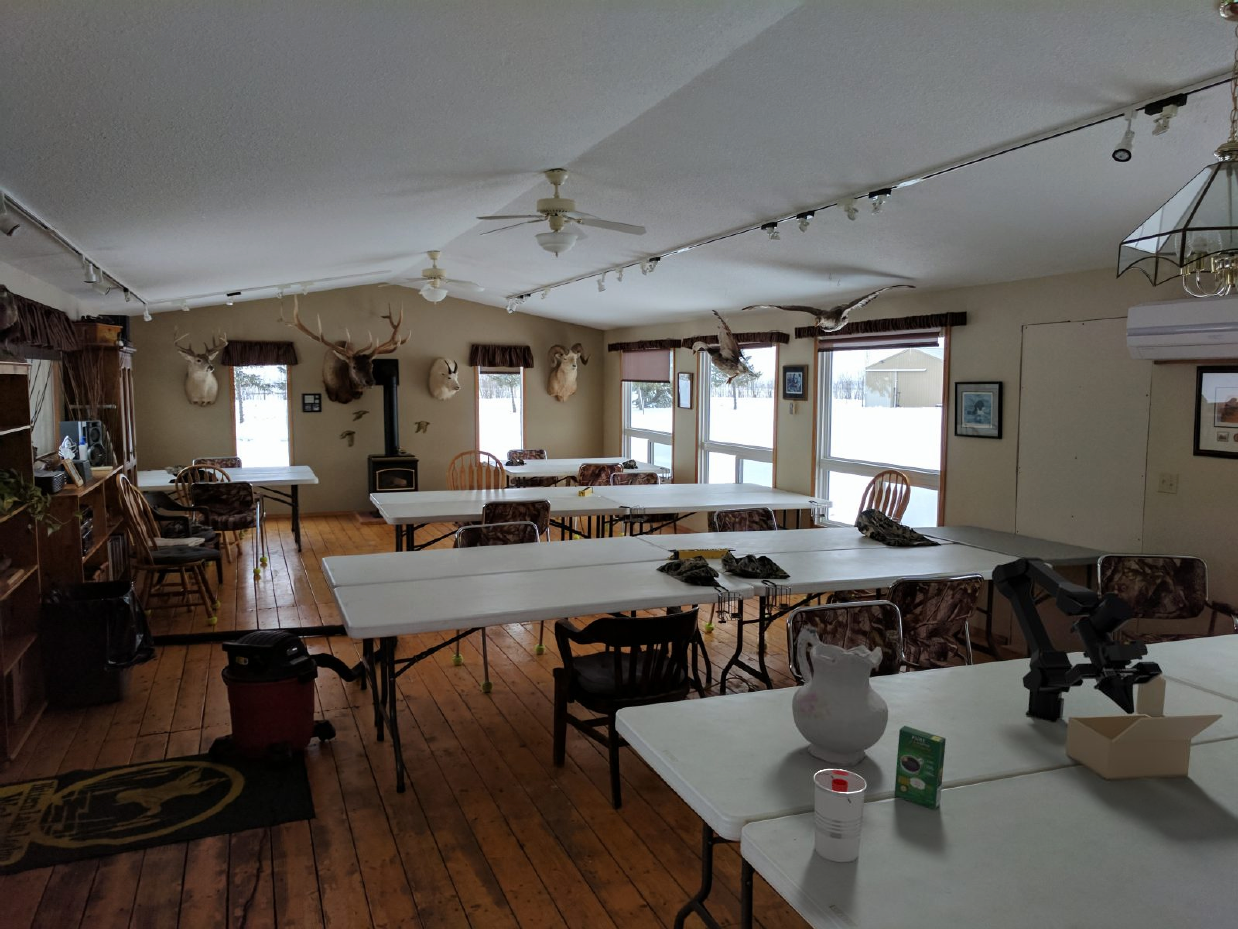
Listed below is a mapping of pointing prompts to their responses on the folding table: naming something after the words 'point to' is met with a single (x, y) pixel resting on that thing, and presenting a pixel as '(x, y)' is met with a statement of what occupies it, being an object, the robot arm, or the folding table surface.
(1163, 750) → the carton
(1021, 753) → the folding table surface
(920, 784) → the coffee box
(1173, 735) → the carton flap
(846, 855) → the striped cup with float
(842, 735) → the ceramic pitcher
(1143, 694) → the candle
